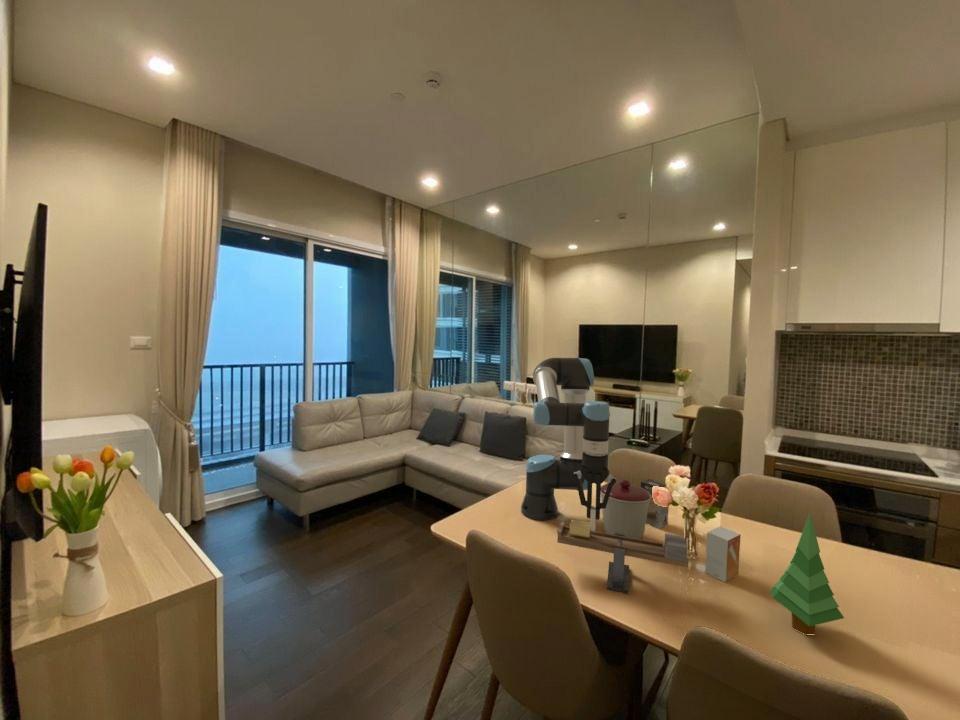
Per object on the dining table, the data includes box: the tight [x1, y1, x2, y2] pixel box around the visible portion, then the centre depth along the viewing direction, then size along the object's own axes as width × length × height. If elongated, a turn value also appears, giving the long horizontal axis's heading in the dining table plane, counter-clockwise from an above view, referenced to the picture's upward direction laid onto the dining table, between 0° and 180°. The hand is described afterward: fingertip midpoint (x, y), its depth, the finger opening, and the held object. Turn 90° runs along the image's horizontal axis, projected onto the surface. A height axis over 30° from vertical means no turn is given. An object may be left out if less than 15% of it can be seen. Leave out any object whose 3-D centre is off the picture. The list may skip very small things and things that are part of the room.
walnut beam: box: [556, 521, 689, 568], centre depth 120 cm, size 8×36×6 cm, turn 70°
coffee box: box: [640, 478, 670, 530], centre depth 158 cm, size 9×6×16 cm
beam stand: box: [606, 532, 630, 595], centre depth 120 cm, size 14×6×12 cm, turn 160°
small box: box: [704, 526, 742, 583], centre depth 124 cm, size 8×6×13 cm
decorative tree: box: [769, 512, 845, 635], centre depth 100 cm, size 14×16×30 cm
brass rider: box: [569, 518, 592, 540], centre depth 124 cm, size 4×6×4 cm
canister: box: [600, 478, 652, 540], centre depth 147 cm, size 18×18×21 cm
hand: (592, 528), depth 123 cm, fingers closed
